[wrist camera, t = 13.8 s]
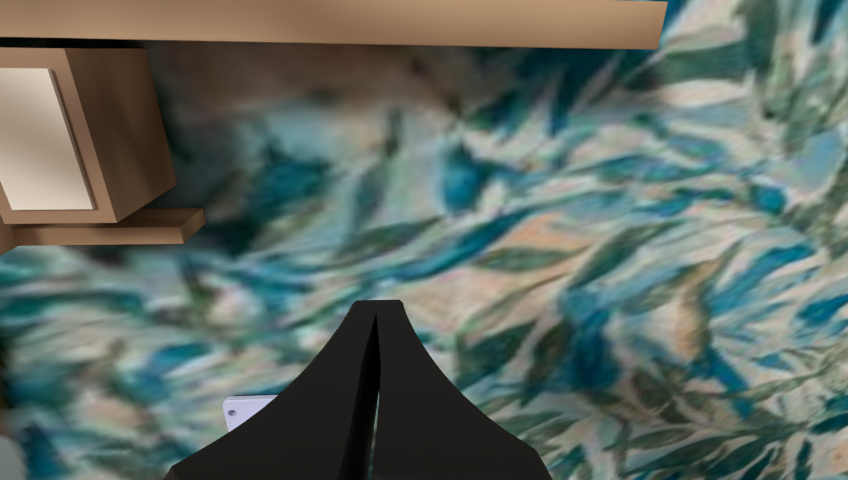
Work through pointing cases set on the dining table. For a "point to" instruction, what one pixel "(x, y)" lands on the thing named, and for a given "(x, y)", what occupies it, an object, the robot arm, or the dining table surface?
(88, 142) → the cabinet block
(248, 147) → the dining table surface
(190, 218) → the wooden bracket
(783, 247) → the dining table surface
